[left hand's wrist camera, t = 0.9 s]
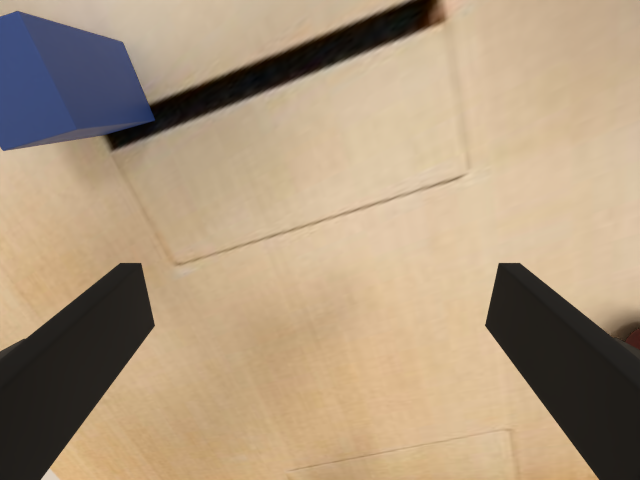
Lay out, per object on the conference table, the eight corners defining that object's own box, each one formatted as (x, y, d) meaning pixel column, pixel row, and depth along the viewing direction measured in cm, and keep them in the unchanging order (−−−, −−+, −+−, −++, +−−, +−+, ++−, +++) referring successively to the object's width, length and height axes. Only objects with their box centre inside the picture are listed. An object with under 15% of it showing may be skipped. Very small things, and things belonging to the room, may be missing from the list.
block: (103, 135, 32) (2, 151, 22) (66, 59, 29) (-66, 37, 19) (155, 120, 31) (77, 129, 21) (123, 41, 29) (17, 10, 19)
